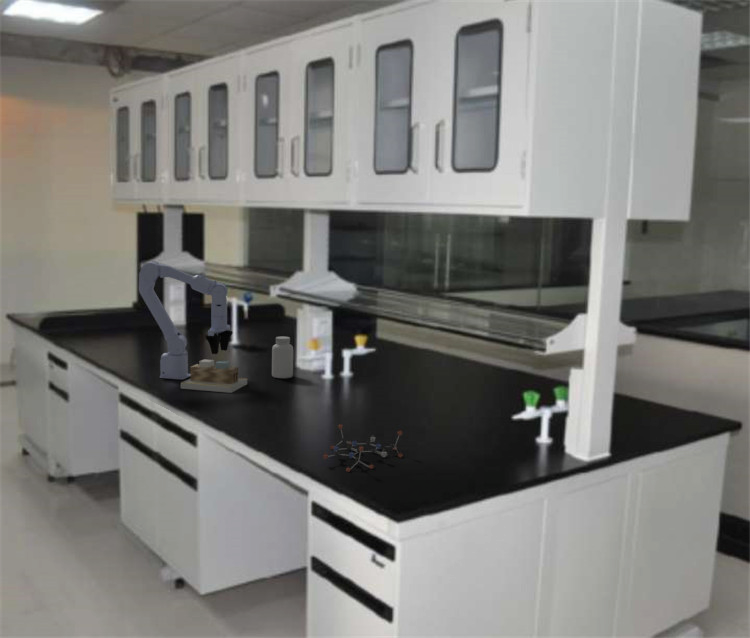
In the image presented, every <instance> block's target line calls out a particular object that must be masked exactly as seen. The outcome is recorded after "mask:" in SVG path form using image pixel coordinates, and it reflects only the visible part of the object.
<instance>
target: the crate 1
mask: <svg viewBox="0 0 750 638" xmlns="http://www.w3.org/2000/svg"><path fill="white" fill-rule="evenodd" d="M198 362H199V367H207V368H210V367H212V366H214V365H215V360H214V359H204V358H203V359H202V360H199V361H198Z"/></svg>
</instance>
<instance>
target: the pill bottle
mask: <svg viewBox="0 0 750 638" xmlns="http://www.w3.org/2000/svg"><path fill="white" fill-rule="evenodd" d="M290 343H291V337H289V336H284V335H283V336H276V337H275V344H274V345H272V347H271V348H272V349H271V376H272V377H273V378H275V379H289V378H293V376H294V346H293V345H292V344H290Z"/></svg>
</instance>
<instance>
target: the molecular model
mask: <svg viewBox="0 0 750 638" xmlns="http://www.w3.org/2000/svg"><path fill="white" fill-rule="evenodd" d="M338 429H339V430H340V432H341V438H342V439H341V441H340V442H339V443H338V445H340V444H341V443H345V444H348V445H347V447H346V448H339V446H337V445H334V444H331V445H330V446H329V447H330V450H333V452H334V454H331V455H328V454H327V453H326V451H325V452H324V454H323V460H328V458H329V457H334V456H335V457H339V456H346V457H347V456H349V459H353V458H354V460H355V462H356V463H355V464H353V465H352V466H351V467H346V468H345V471H346V472H348V473H349V472H351V470H352V469H353V468H354V467H355V466H356V465H357V464H358V463H360V464H362V465H363V466H365V467H367V468H369V469H370V470H371V469H372V470H373V469H374V465H373V464H372V463H371V464H370V465H367V464H366V463H364V462H363V461H361V455H362V453H372V454H378V455H380V456H381V457H382V458H386V457H388V455H389V454H388V453H387V451H385V450H382V451H379V450H381V448H382V444H380V442H379V441H377V443H376V444H373V443H375V442H376V436H370V438H368V439H367V440H366V442H365V443H363V442H361V443H359V442H358V441H356V439H355V437H354V439H353V441H348V438H347V437H346V435H343V434H344V433H343V430H342V429H343V424H342V423H341V422H340V424H338ZM396 434H397V436H398V437H397V438H396V442H395V443H393V440H392V441H391V443H389V445H388V446H387V445H386V446H383V448H389V447H390V449H392V451H396V452H397V457H398V458H403V453H402V451H400V452H399V451H398V449H397V443H398V440H399V437H400V436H402V435H403V431H401V429H399V430H398V431H397V433H396ZM369 439H370V440H369ZM357 445H366V446H373V447H372V448H371V450H364V446H358V448H353V447H357ZM341 450H348V451H351V452H348V454H345V453H344V454H343V453H341V452H340V451H341ZM353 451H354V452H353ZM356 454H357V456H356V457H355V455H356ZM358 454H359V455H358Z"/></svg>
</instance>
